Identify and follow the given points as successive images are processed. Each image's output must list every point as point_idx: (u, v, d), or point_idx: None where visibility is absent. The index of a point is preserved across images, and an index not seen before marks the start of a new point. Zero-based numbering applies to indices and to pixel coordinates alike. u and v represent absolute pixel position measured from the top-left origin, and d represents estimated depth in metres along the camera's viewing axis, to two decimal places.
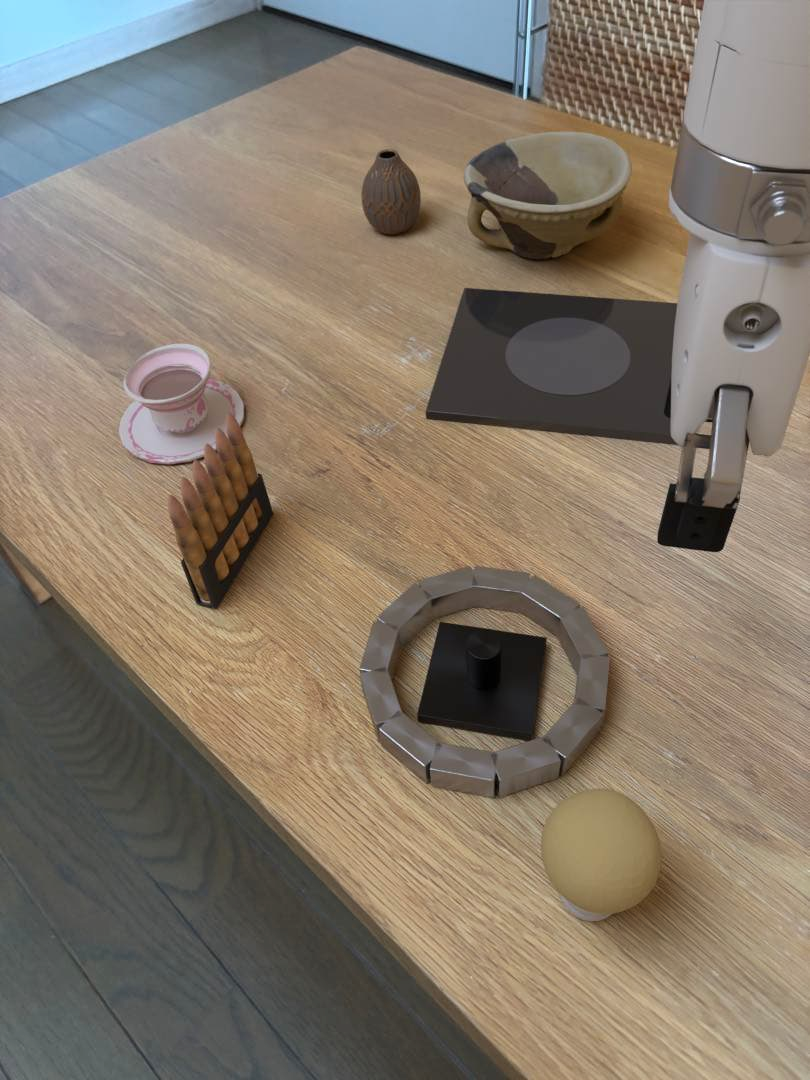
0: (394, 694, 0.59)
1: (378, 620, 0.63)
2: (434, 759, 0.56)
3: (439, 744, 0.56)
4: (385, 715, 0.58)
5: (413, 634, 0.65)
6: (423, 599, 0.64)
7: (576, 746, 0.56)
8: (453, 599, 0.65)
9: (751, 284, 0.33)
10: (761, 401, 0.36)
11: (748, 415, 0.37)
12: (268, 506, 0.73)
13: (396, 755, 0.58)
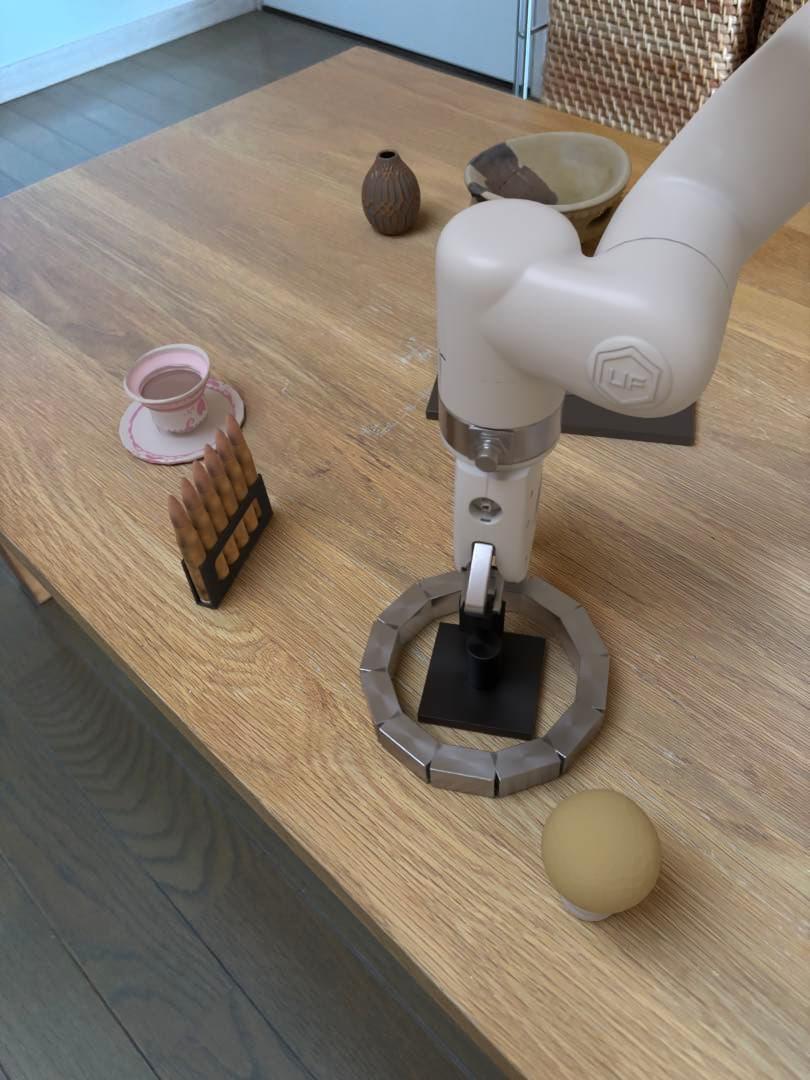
0: (394, 694, 0.59)
1: (378, 620, 0.63)
2: (434, 759, 0.56)
3: (439, 744, 0.56)
4: (385, 715, 0.58)
5: (413, 634, 0.65)
6: (423, 599, 0.64)
7: (576, 746, 0.56)
8: (453, 599, 0.65)
9: (480, 487, 0.51)
10: (501, 552, 0.55)
11: (495, 559, 0.55)
12: (268, 506, 0.73)
13: (396, 755, 0.58)
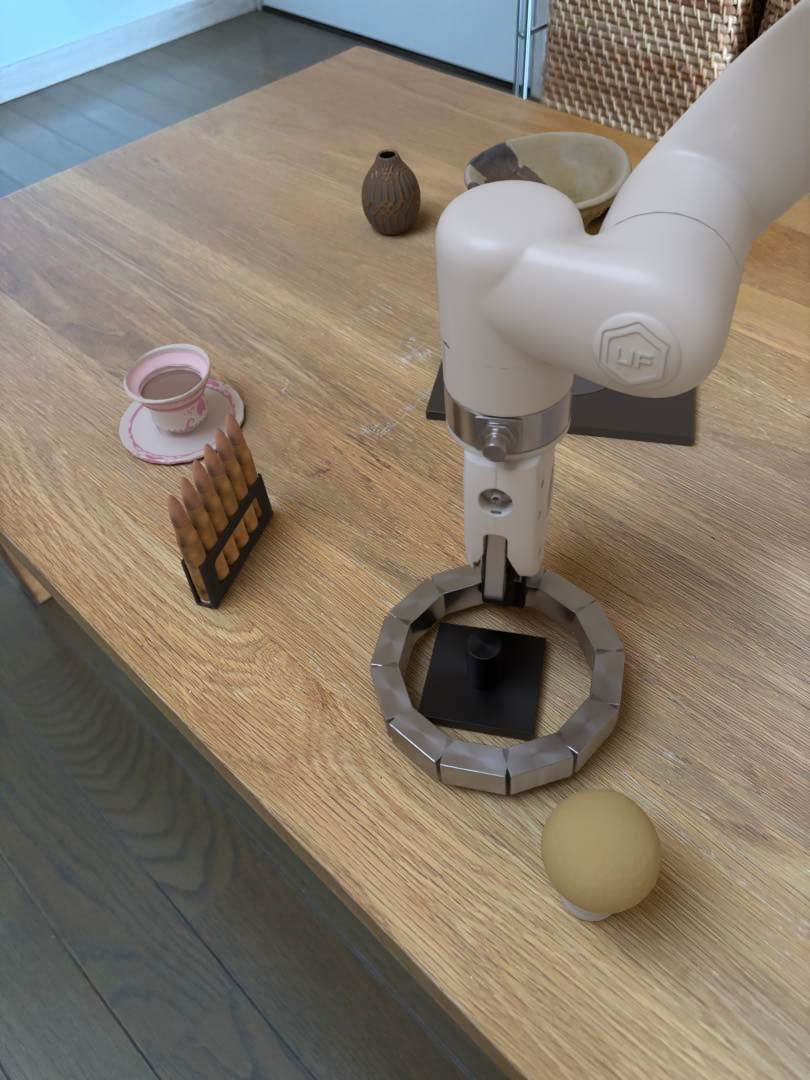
0: (405, 689, 0.58)
1: (390, 615, 0.63)
2: (444, 755, 0.55)
3: (450, 740, 0.56)
4: (395, 710, 0.57)
5: (426, 629, 0.64)
6: (435, 594, 0.63)
7: (589, 742, 0.55)
8: (466, 593, 0.64)
9: (489, 478, 0.50)
10: (513, 545, 0.53)
11: (508, 553, 0.54)
12: (268, 506, 0.73)
13: (407, 751, 0.57)
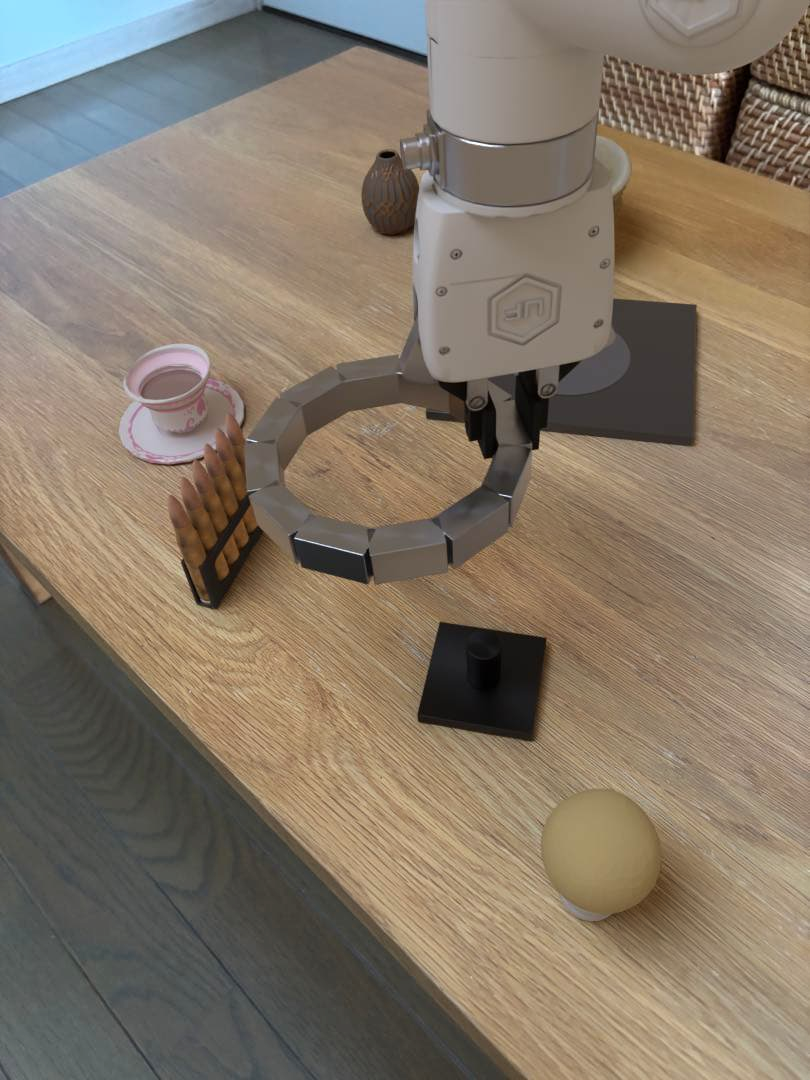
0: (317, 394, 0.55)
1: None
2: (256, 443, 0.53)
3: (273, 442, 0.53)
4: (291, 396, 0.55)
5: (419, 403, 0.57)
6: None
7: (314, 545, 0.47)
8: None
9: (418, 203, 0.42)
10: (419, 313, 0.44)
11: (418, 322, 0.45)
12: None
13: None
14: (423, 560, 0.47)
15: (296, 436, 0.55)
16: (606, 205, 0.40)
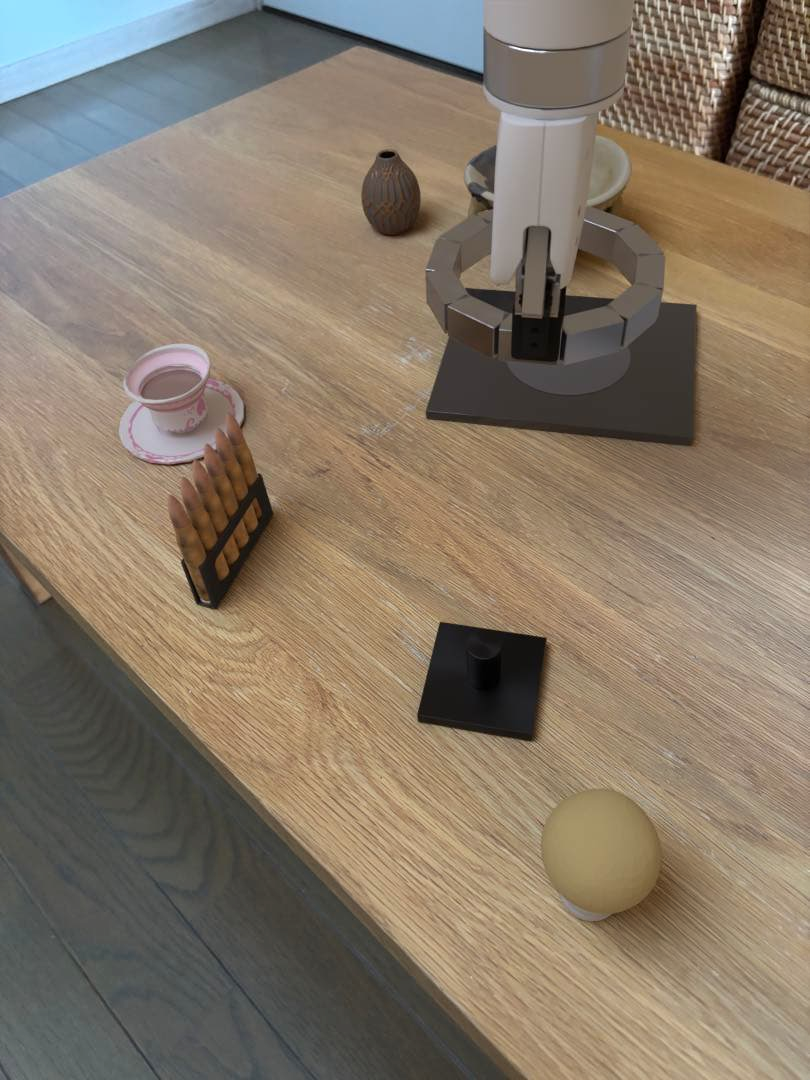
0: (625, 240, 0.64)
1: None
2: None
3: None
4: (630, 229, 0.65)
5: None
6: (614, 305, 0.59)
7: None
8: None
9: None
10: None
11: None
12: (268, 506, 0.73)
13: None
14: None
15: (599, 244, 0.67)
16: (500, 138, 0.45)
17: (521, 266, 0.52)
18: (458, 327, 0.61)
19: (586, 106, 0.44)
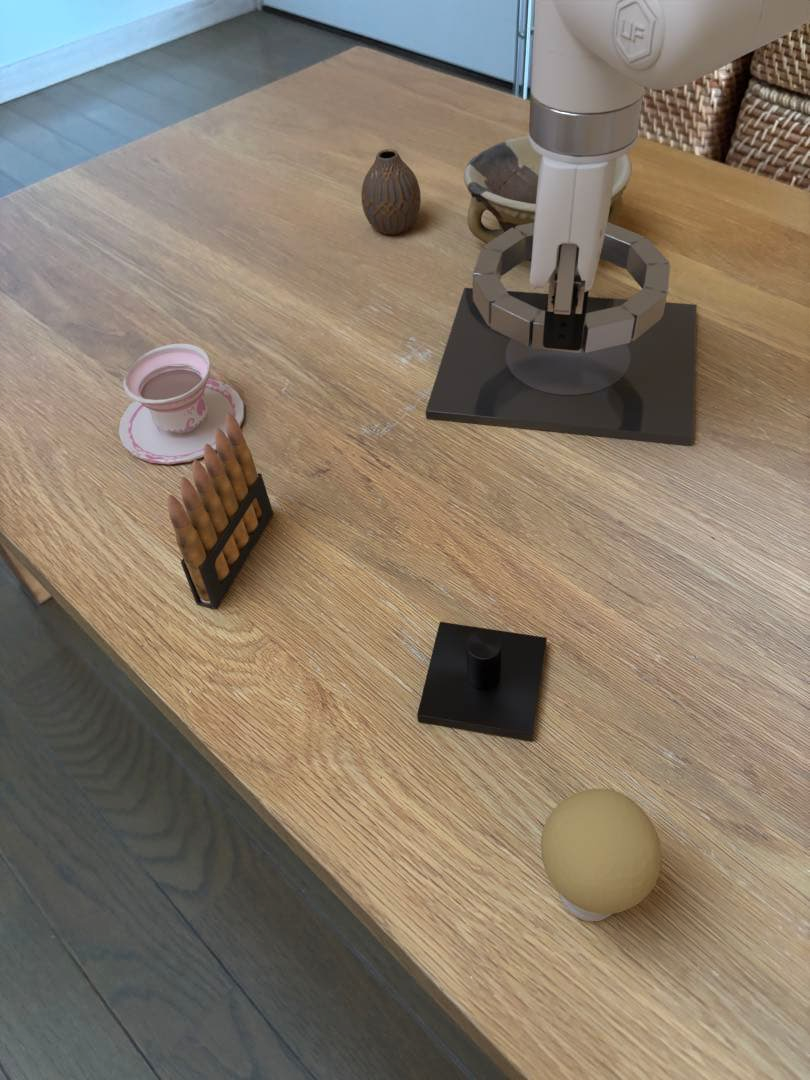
0: (638, 252, 0.78)
1: None
2: None
3: None
4: (641, 242, 0.79)
5: None
6: (627, 305, 0.73)
7: None
8: None
9: None
10: None
11: None
12: (268, 506, 0.73)
13: None
14: None
15: (616, 254, 0.81)
16: (541, 176, 0.59)
17: (554, 273, 0.66)
18: (499, 321, 0.75)
19: (608, 154, 0.58)
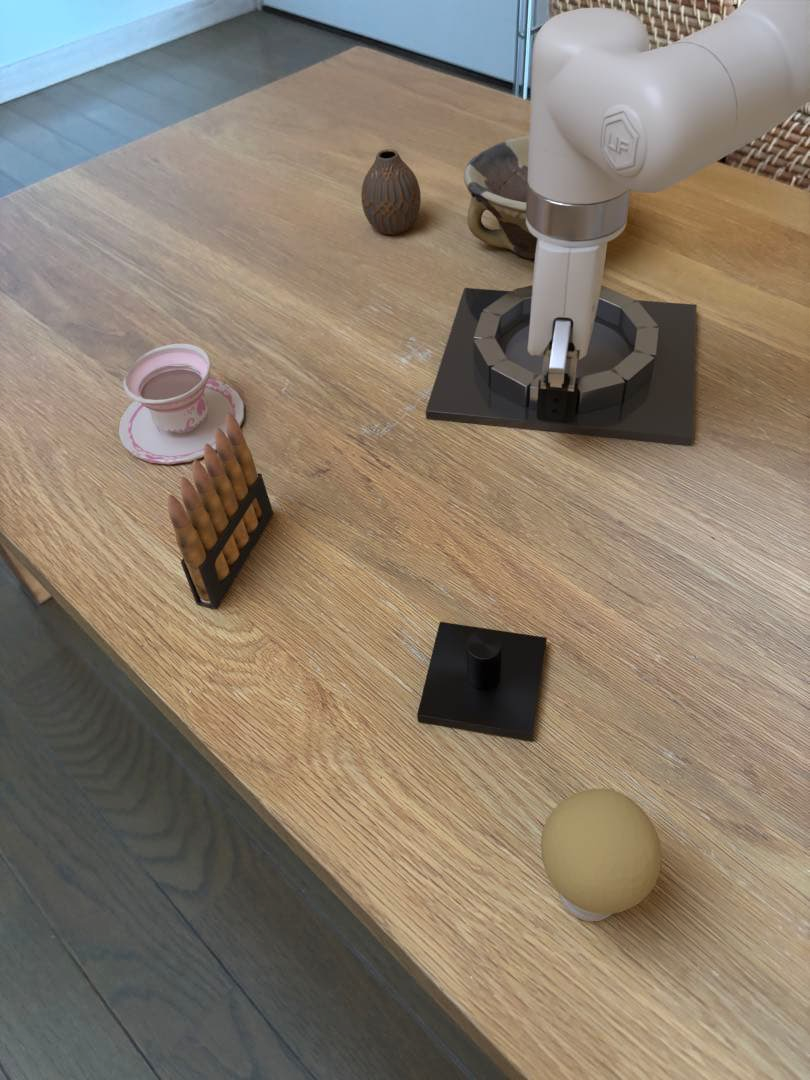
0: (628, 315, 0.83)
1: None
2: None
3: None
4: (632, 305, 0.84)
5: None
6: (618, 368, 0.78)
7: None
8: None
9: None
10: None
11: None
12: (268, 506, 0.73)
13: None
14: None
15: (608, 315, 0.86)
16: (538, 258, 0.64)
17: (549, 342, 0.69)
18: (499, 383, 0.80)
19: (599, 239, 0.63)
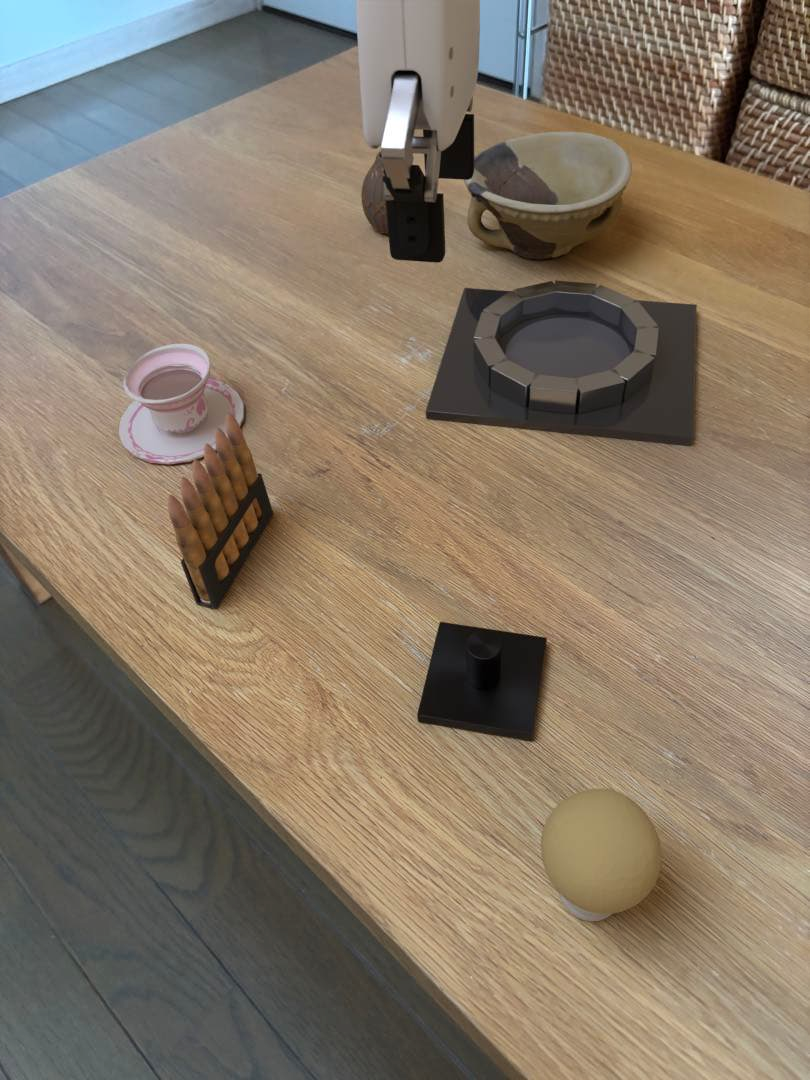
0: (628, 315, 0.83)
1: None
2: (594, 287, 0.86)
3: (592, 293, 0.86)
4: (632, 305, 0.84)
5: None
6: (618, 368, 0.78)
7: None
8: None
9: None
10: None
11: None
12: (268, 506, 0.73)
13: None
14: None
15: (608, 315, 0.86)
16: None
17: None
18: (499, 383, 0.80)
19: None
